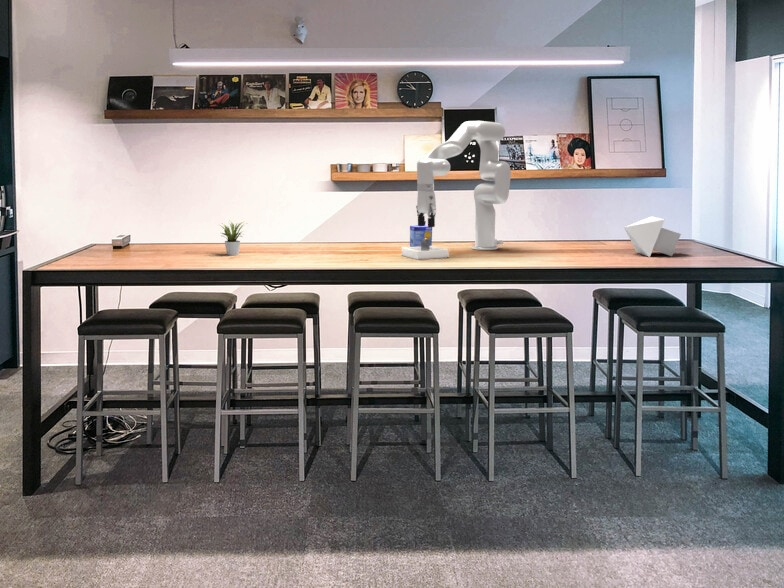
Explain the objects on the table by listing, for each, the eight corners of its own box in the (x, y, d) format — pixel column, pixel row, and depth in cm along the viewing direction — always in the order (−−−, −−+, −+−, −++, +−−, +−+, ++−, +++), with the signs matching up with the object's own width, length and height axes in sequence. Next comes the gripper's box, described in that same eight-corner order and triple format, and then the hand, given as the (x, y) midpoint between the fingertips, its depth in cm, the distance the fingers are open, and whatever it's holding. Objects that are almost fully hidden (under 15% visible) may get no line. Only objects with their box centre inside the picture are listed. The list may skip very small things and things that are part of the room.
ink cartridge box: (414, 252, 380) (414, 221, 377) (408, 251, 385) (409, 220, 382) (432, 251, 384) (432, 220, 381) (427, 249, 389) (427, 220, 386)
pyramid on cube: (611, 243, 377) (625, 207, 374) (658, 259, 380) (672, 223, 377) (622, 248, 361) (637, 209, 358) (671, 264, 363) (686, 227, 360)
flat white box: (432, 253, 376) (432, 245, 375) (448, 257, 361) (448, 249, 361) (401, 255, 369) (401, 247, 368) (417, 259, 355) (417, 251, 354)
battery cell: (427, 254, 368) (427, 237, 366) (431, 255, 364) (431, 238, 363) (419, 254, 366) (419, 238, 365) (423, 255, 362) (423, 239, 361)
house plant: (254, 252, 379) (253, 218, 376) (246, 256, 365) (245, 220, 362) (225, 252, 380) (224, 217, 377) (216, 256, 367) (214, 220, 364)
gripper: (442, 188, 354) (442, 227, 357) (424, 186, 369) (424, 223, 372) (427, 189, 351) (427, 228, 354) (409, 187, 366) (410, 224, 369)
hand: (426, 225), depth 363 cm, fingers open, 9 cm apart
